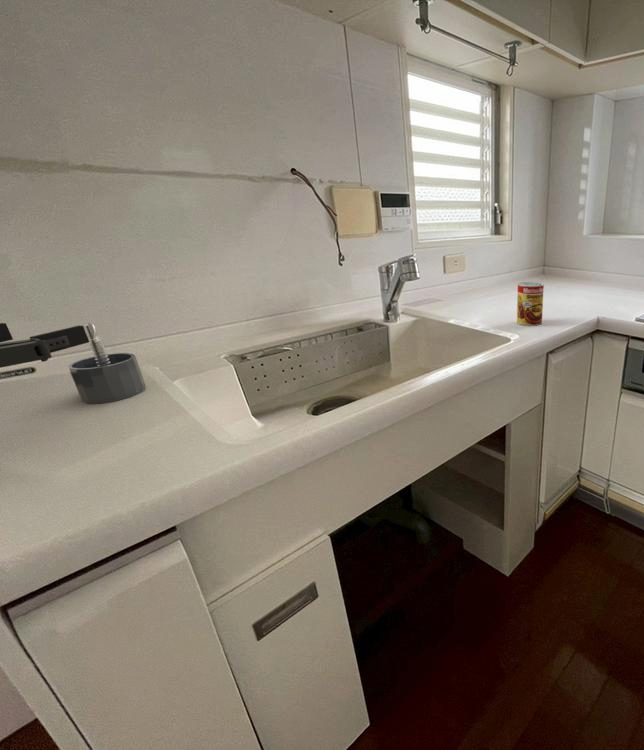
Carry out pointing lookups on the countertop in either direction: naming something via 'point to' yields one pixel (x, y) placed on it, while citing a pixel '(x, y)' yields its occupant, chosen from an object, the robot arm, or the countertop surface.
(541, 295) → the canned food
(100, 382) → the steel cup
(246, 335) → the countertop surface
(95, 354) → the screw
